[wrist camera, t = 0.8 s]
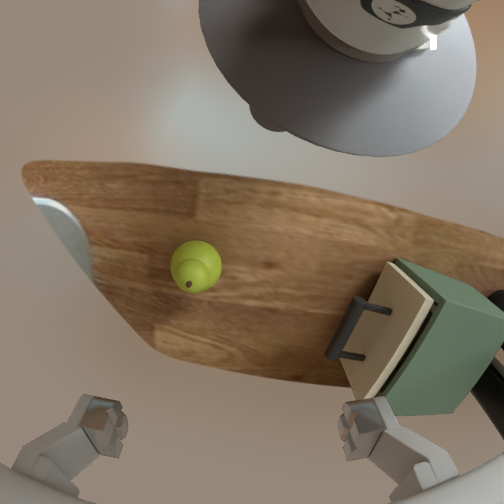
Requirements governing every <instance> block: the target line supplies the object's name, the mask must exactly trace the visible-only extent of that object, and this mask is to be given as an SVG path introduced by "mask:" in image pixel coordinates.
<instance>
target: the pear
mask: <svg viewBox="0 0 504 504" xmlns="http://www.w3.org/2000/svg"><path fill="white" fill-rule="evenodd" d="M221 268H222V265H221V259H220V256H219V254H218V252H217V251H216V250H215V249H214V248H213V247H212V246H211V245H210V244H208V243H206V242H203V241H197V240H194V241H188V242H186V243H184V244H182V245H180V246H179V247H178V248H177V249H176V250H175V252H174V253H173V256H172V258H171V262H170V270H171V274H172V277H173V279H174V281H175V282H176V283H177V285H178V287H179V288H180V289H181V290H183V291H184V292H187V293H198V292H202V291H205V290H207V289H209V288H211V287H212V286H213V285H214V284H215V283H216V282H217V280H218V279H219V277H220V274H221Z"/></svg>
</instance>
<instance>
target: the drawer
mask: <svg viewBox="0 0 504 504" xmlns="http://www.w3.org/2000/svg"><path fill="white" fill-rule="evenodd" d="M437 305H438V304H437V303H436V302H435V301H434V300H433V299H432V298H431V297H430V296H429V295H428V294H427V293H426V292H425V291H424V290H423V289H422V288H421V287H419V286H418V285H417V284H416V283H415V282H414V281H413V280H412V279H411V278H410V277H408V276H407V275H406V274H405V273H404V272H403V271H402V270H401V269H399V268H398V267H397V266H396V265H395V264H393V263H390V262H386V264H385V266H384V268H383V271H382V273H381V275H380V277H379V279H378V281H377V284H376V286H375V288H374V290H373V292H372V294H371V296H370V298H369V300H368V302H367V301H366V300H365V299H363V298H361V297H359V296H354V297H353V299H352V301H351V303H350V305H349V307H348V309H347V311H346V313H345V315H344V317H343V319H342V321H341V323H340V325H339V327H338V329H337V331H336V333H335V335H334V337H333V338H332V340H331V342H330V344H329V346H328V348H327V350H326V351H325V357H326V358H327V359H329V360H332V361H335V360H337V359H338V357H339V358H340V361H341V363H342V366H343V368H344V370H345V373H346V375H347V378H348V380H349V383H350V385H351V388H352V390H353V393H354V396H355V398H356V400H362V399H367V398H374V396H375V395H377V397H380V395H381V394H382V393H383V391H384V390H385V389H386V387H387V386H388V385H389V383H390V382H391V380H392V379H393V377H394V376H395V375H396V373H397V372H398V370H399V369H400V367H401V366H402V364H403V363H404V361H405V360H406V358H407V357H408V355H409V353H410V352H411V350H412V349H413V347H414V345H415V344H416V342H417V341H418V339H419V337H420V336H421V334H422V332H423V330H424V329H425V327H426V325H427V323H428V322H429V320H430V318H431V316H432V315H433V313H434V311H435V309H436V307H437Z"/></svg>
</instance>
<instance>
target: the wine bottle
mask: <svg viewBox="0 0 504 504" xmlns="http://www.w3.org/2000/svg"><path fill="white" fill-rule="evenodd" d="M470 392H471V393H472V394H473V396H474V397H475V398H476V400H477V401H478V403H479V404H480V405H481V407H482V408H483V410H484V411H485V412H486V414H487V415H488V417H489V418H490V420H491V421H492V423H493V424H494V426H495V427H496V429H497V430H498V432H499V433H500V435H501V436H502V438H503V439H504V366H503V365H502V364H501V363H500V362H499V361H498V360H497V359H496V358H495V356H494V358H493V360H492V361H491V363H490V364H489V366H488V367H487V368H486V370H485V371H484V373H483V374H482V376H481V377H480V378H479V380H478V381H477V383H476V384H475V385H474V387H473V388H472V389H471V391H470Z"/></svg>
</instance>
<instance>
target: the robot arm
mask: <svg viewBox="0 0 504 504" xmlns="http://www.w3.org/2000/svg"><path fill="white" fill-rule="evenodd" d="M296 1H297V2H298V4H299V6H300V8H301V10H302V13H303V15H304V17H305V19H306V21H307V22H308V24H309V25H310V27H311V28H312V29H313V31H314V32H315V33H316V34H317V35H318V36H319V37H320V38H321V39H322V40H323V41H325V42H326V43H327V44H328V45H330V46H331V47H333V48H334V49H336V50H337V51H339V52H341V53H343V54H345V55H347V56H349V57H352V58H355V59H358V60H361V61H366V62H373V63H383V62H389V61H393V60H395V59H398V58H399V57H401V56H403V55H404V54H406V53H408V52H423V51H426V50H427V49H429V48H430V49H431V50H434V49H437V40H436V36H437V35H438V34H440V33H441V32H443V31H444V30H446V29H448V28H449V27H450V25H451V22H450V21H451V20H454V19H456V18H458V17H459V16H460V15H462V14H463V13H464V12H466V11H467V10H468V9H469V8H470V7H471V4H472V3H474V2H477V1H479V0H296ZM121 409H122V405H121V403H120V402H119V401H116V400H111V399H106V398H101V397H96V396H91V395H86V394H84V395H82V396H81V397H80V399H79V401H78V402H77V404H76V406H75V408H74V410H73V412H72V414H71V416H70V418H69V419H68V421H67V423H65V422H64V423H62V424H60V425H58V426H57V427H55V428H53V429H52V430H50V431H48V432H46V433H45V434H43V435H41V436H40V437H38V438H36V439H35V440H33V441H31V442H29V443H27V444H26V445H24V446H23V447H22V449H21V451H20V452H19V454H18V456H17V458H16V460H15V462H14V464H13V466H12V468H11V469H10V468H9V467H7V466H5V465H3V464H1V463H0V504H96V503H92V502H89V501H86V500H83V499H80V498H78V495H79V489H78V488H77V487H76V486H75V485H74V484H73V483H72V482H71V480H72V479H73V478H74V477H75V476H77V475H78V474H79V473H80V472H81V471H82V470H83V469H85V468H86V467H87V466H88V465H89V464H90V463H91V462H93V461H94V460H95V459H96V458H97V457H98V456H99V454H100V455H104V456H110V457H114V458H119V456H120V453H121V450H122V447H123V444H122V442H121V440H122V439H123V438H125V437H126V434H127V432H128V420H127V417H126V415H125V414H124V413H123V412H122V411H121ZM343 412H344V413H343V414H342V415H341V416H340V418H339V424H338V429H339V435H340V438H341V439H342V440H343V441H344V442H345V444H344V447H343V449H344V452H345V455H346V459H347V461H351V460H357V459H363V458H368V457H369V459H370V460H371V461H372V462H373V463H374V464H375V465H376V466H378V467H379V468H380V469H381V470H382V471H383V472H385V473H386V474H387V475H388V476H389V477H391V478H392V479H393V480H394V481H395V482H396V483H398V484H399V485H398V486H397V487H396V488H395V490H394V491H393V492H392V493H391V494H390V496H389V497H390V500H391V503H389V504H504V452H503V453H501V454H500V455H498V456H496V457H495V458H493V459H491V460H490V461H488V462H486V463H484V464H483V465H481V466H479V467H477V468H475V469H473V470H471V471H469V472H467V473H465V474H463V475H461V476H460V475H459V473H458V471H457V469H456V467H455V465H454V463H453V461H452V459H451V457H450V455H449V453H448V452H447V451H445V450H444V449H442V448H440V447H438V446H437V445H435V444H433V443H431V442H430V441H428V440H426V439H424V438H423V437H421V436H420V435H418V434H416V433H415V432H413V431H411V430H409V429H408V428H406V427H405V426H399V424H398V422H397V420H396V417H395V415H394V413H393V411H392V409H391V407H390V405H389V403H388V401H387V399H386V398H385V397H384V396H380V397H375V398H367V399H362V400H356V401H350V402H346V403H345V404H344V406H343Z"/></svg>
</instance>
